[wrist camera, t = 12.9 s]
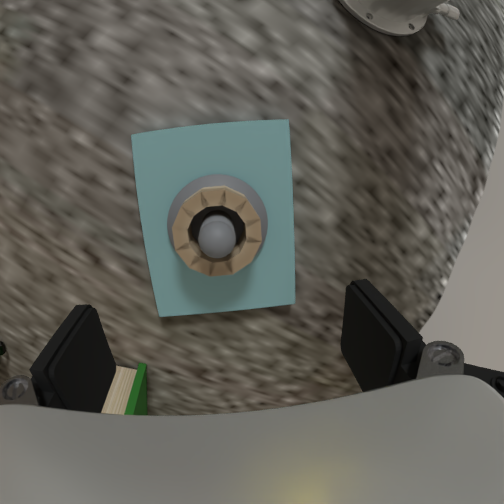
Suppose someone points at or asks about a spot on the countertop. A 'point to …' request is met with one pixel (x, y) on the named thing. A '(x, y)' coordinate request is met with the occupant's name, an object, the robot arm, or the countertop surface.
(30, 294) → the countertop surface
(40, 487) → the robot arm
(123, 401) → the hardback book
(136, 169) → the teal plate with knob
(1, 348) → the coffee press
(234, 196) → the ring
